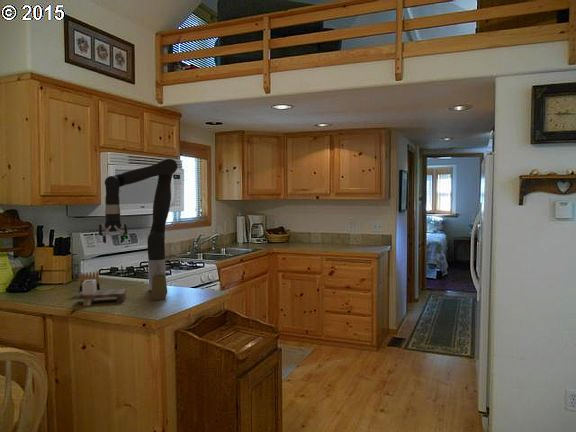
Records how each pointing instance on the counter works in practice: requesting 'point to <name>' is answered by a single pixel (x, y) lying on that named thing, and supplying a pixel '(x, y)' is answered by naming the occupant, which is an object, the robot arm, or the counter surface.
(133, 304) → the counter surface
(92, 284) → the stud finder
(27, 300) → the counter surface
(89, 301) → the subfloor plank
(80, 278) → the ammunition clip
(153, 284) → the squeeze bottle
